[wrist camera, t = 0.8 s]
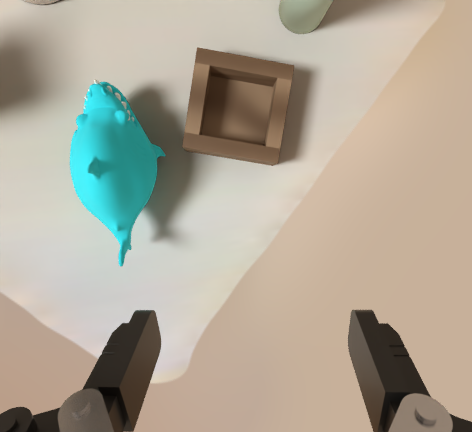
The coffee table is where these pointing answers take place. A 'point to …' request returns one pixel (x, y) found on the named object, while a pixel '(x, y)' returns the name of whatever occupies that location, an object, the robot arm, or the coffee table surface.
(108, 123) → the toy shark
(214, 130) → the socket base
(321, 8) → the post
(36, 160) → the coffee table surface
